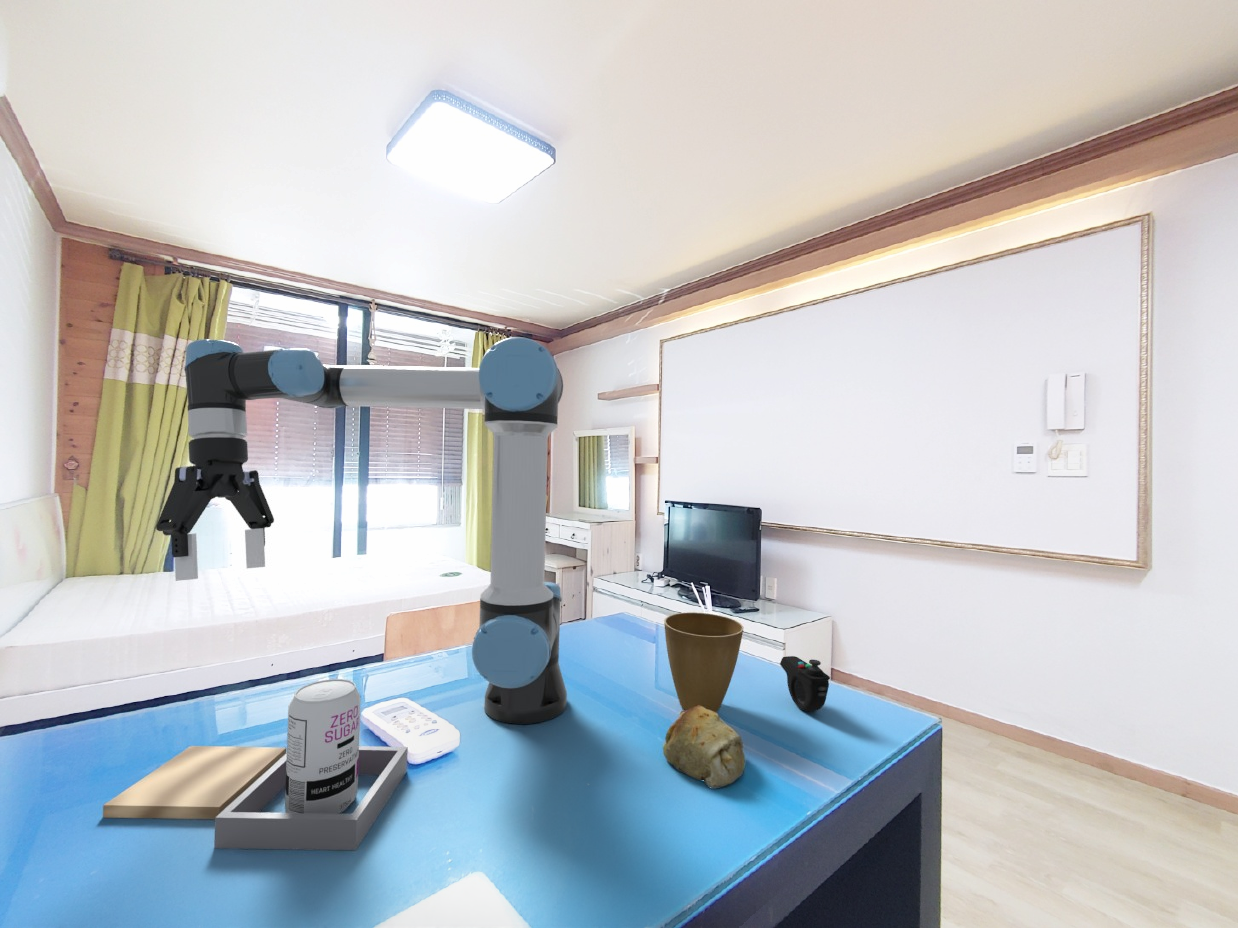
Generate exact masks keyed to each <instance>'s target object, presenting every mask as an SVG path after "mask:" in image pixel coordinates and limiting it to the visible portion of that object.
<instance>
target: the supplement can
mask: <svg viewBox="0 0 1238 928" xmlns="http://www.w3.org/2000/svg"><path fill="white" fill-rule="evenodd" d="M361 697H362V696H361V695H360V692H359V690H358V689H357V686H356V683H355V682H354V681H352V680H349V679H343V678H332V679H331V678H330V679H324V680H323V679H322V680H318V681H313V682H310V683H309V684H308V683H307V684H306V685H303V686H301V687H300V688H298V689H297V690H296V692H294V697H293V698H292V699H291V702H290V703H289V705H288V710H287V735H286V736H287V737H286V739H287V740H286V753H287V761H286V786H285V797H284V799H285V800H284V809H285V810H284V811H285V812H284V813H324V814H342V813H343V812H344V811H346V810H347V809H348V808H349V806H350V805H351V804H352V803H353V802H354V801H355V800H356V799H357V794H358V786H359V785H358V783H359V774H358V761H359V746H360V730H361V729H360V727H361Z"/></svg>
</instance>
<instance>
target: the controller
mask: <svg viewBox="0 0 1238 928" xmlns="http://www.w3.org/2000/svg"><path fill="white" fill-rule="evenodd" d="M821 664H822V663H821V661H820V660H817V659H809V661H808V663H807V662H806V661H804V660H803V659H802V658H799V657H797V656H794V655H791V656H790V655H789V656H782V658H781V660H780V662H779V665H780V667H781V668H782V670H784V672H785V673H786V679H787V680H786V681H787V689H788V691H789V694H790V695H789V696H790V697H791V699H792V701H793V703H794V704H795V705H796V707H798V708H799V709H801V710H802V711H804V712H815V711H816V712H817V711H818V710H819V711H820V710H821V709H822V708H823V707H824V705H825V702H826V700H827V696H828V691H829V686H830V683H829V681H830V679H831V677H830V676H829V675H828V674H827V673H825V672H824V671H823V669H821V667H820V665H821Z"/></svg>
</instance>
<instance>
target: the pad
mask: <svg viewBox="0 0 1238 928" xmlns="http://www.w3.org/2000/svg"><path fill="white" fill-rule="evenodd" d="M286 753H287V747H279V746H278V747H270V746H266V747H265V746H259V747H258V746H225V745H223V746H222V745H221V746H218V745H217V746H216V745H215V746H212V745H211V746H210V745H209V746H208V745H190V746H188V747H186V748H185V749H184V750H183V751H181V752H180V753H179V754H177V755H175V756H174V757H171V759H169V760H168V761H167V762H165V763H163V764H162V765H160V766H159V767H157V768H156V769H155V770H152V772H150V773H148V775H145V776H144V777H143V778H141V779H140V780H138V781H136V782H135V783H134V784H132V785H131V786H129V787H128V788H126V789H125V790H123V791H122V792H121V793H119V794H118V795H115V797H113V798H111V799H110V800H109V801H107V802H106V803H105V804H103V805H102V818H108V819H109V818H112V819H113V818H114V819H116V818H118V819H122V818H123V819H124V818H125V819H178V820H179V819H183V820H184V819H185V820H187V819H188V820H190V819H191V820H197V819H198V820H215V817H216V816H218V815H219V814H220V813H221V812H222V811H223V810H224V809H225V808H226V807H228V806H229V805H230V804H231V803H232V802H233V801H234V800H235V799H236V798H238V797H239V796H240V795H241V794H242V793H243V792H244V791H245V790H246V789H247V788H249V787H250V786H251V785H252V784H253V783H254V782H255V781H256V780H257V779H259V778H260V777H261V776H262V775H263V774H264V773H265V772H266V771H267V770H269V769H270V768H271V767H272V766H273V765H274V764H275V763H276V762H277V761H278V760H280V759H281V758H282V757H283V756H284V755H285V754H286Z"/></svg>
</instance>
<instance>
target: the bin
mask: <svg viewBox="0 0 1238 928" xmlns="http://www.w3.org/2000/svg"><path fill="white" fill-rule="evenodd" d="M408 751H409V750H408V746H376V745H375V746H372V745H370V746H368V745H367V746H366V745H365V746H364V745H359V761H358V775H367V776H368V775H369V776H370V775H371V776H373V775H375V776H377V775H378V777H377V779H376V780H375V781H374V783H373V784H372V785H371V787H370V788H369V790H368V791H367V793H366V794H365V795H364V797H363V798H362V800H360V801H359V803H358V804H357V806H356V807H355V809H354V811H353V812H352V813H340V814H324V813H285V812H261V811H262V810H263V809H264V808H265V807H266V806H267V805H268V804H269V803H270V802H271V801H272V800H273V799H274V798H275V797H276V796H277V795H278V794H279V793H280V792H281V791H283V789H284V788H286V761H287V752H286V754H285V755H284V756H283V757H282V758H281V759H280V760H278V761H277V762H276V763H275V764H274V765H273V766H272V767H271V768H270V769H269V770H267V771H266V772H265V773H264V774H263V775H262V776H261V777H260V778H259V779H257V780H256V781H255V782H254V783H253V784H252V785H251V786H250V787H249V788H247V789H246V790H245V791H244V792H243V793H242V794H241V795H240V796H239V797H238V798H236V799H235V800H234V801H233V802H232V803H231V804H230V805H229V806H228V807H226V808H225V809H224V810H223V811H222V812H221V813H220V814H219V815H218V816H216V817H215V819H214V845H213V849H235V850H236V849H238V850H239V849H240V850H241V849H243V850H244V849H245V850H246V849H247V850H249V849H250V850H256V849H257V850H315V851H316V850H317V851H318V850H320V851H322V850H323V851H324V850H328V851H330V850H331V851H356V850H357V849H358V847H359V846H360V844H361V843H362V841H363V840H364V838H365V836H366V835H367V834H368V832H369V830H370V829H371V827H372V826H373V824H374V823H375V821H376V819H377V818H378V816H379V815H380V813H381V812H382V810H383V809H384V808H385V806H386V804H387V803H388V801H389V799H390V798H391V797H392V795H393V793H394V792H395V790H396V789H397V788H398V786H399V784H400V782H401V781H402V779H403V778H404V776H405V775H406V773H407V771H408Z"/></svg>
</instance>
